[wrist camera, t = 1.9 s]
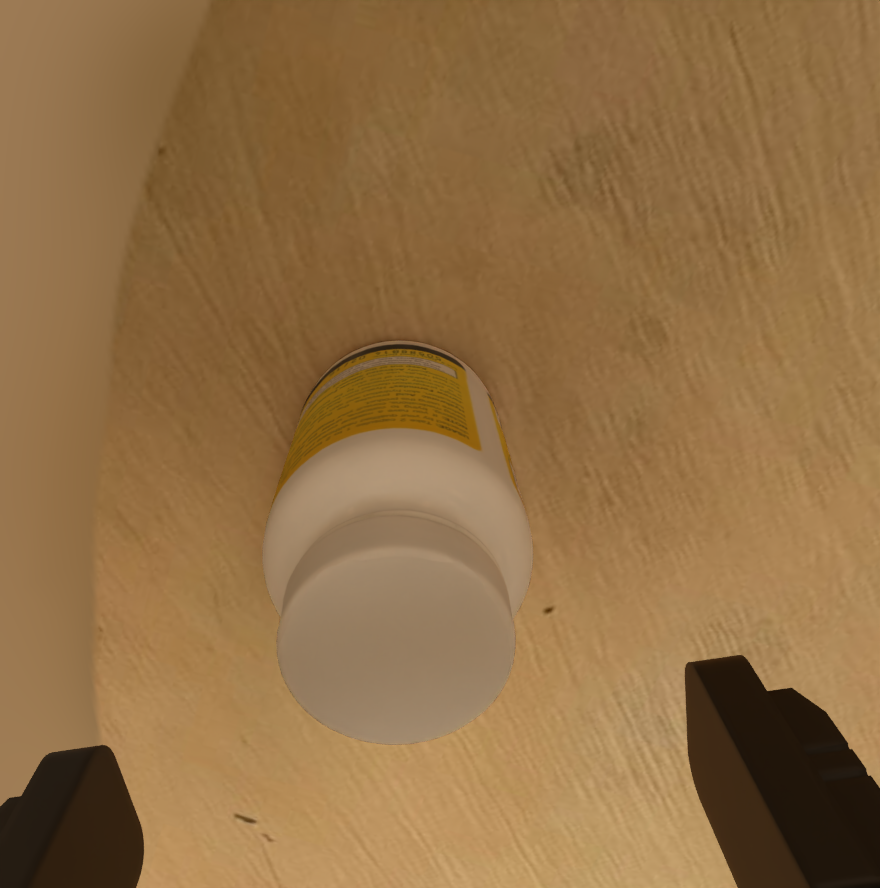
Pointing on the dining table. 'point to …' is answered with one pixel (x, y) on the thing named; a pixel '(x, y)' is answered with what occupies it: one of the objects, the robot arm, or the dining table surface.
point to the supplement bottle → (397, 547)
